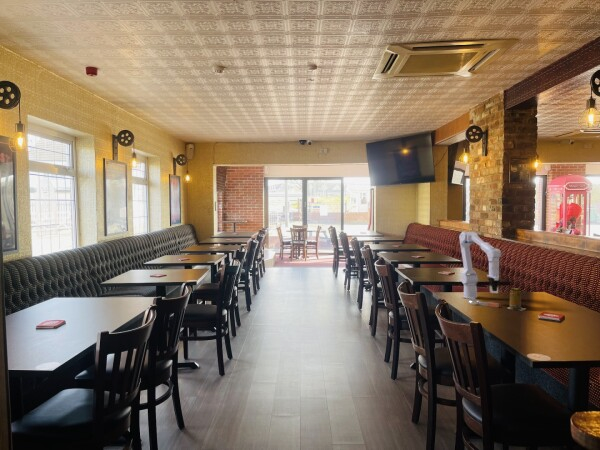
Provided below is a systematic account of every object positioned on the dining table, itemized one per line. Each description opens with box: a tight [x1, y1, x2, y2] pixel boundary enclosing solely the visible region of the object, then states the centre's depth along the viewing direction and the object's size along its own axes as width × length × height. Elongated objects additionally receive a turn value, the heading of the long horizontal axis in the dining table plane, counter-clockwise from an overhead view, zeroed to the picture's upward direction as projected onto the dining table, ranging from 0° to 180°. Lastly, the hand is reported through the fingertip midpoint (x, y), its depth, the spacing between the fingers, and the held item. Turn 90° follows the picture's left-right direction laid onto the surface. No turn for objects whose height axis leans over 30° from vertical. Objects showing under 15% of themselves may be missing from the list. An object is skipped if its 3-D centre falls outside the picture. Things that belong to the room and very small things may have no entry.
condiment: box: [508, 287, 526, 311], centre depth 258 cm, size 7×8×12 cm
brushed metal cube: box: [489, 284, 499, 294], centre depth 269 cm, size 4×4×4 cm
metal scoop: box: [467, 297, 500, 308], centre depth 268 cm, size 18×7×4 cm, turn 48°
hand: (493, 290), depth 269 cm, fingers closed on brushed metal cube, 4 cm apart
